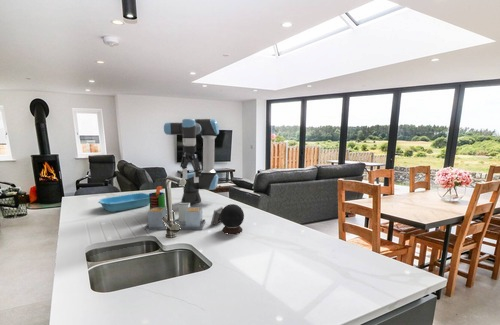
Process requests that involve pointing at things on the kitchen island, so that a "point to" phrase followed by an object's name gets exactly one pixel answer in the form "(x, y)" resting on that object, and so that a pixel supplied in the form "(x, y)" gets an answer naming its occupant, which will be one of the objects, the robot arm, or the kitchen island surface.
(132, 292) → the kitchen island surface
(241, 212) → the black ball on stand
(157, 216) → the rail
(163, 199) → the motor
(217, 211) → the electrical switch
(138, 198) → the casserole dish
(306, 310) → the kitchen island surface
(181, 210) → the block
